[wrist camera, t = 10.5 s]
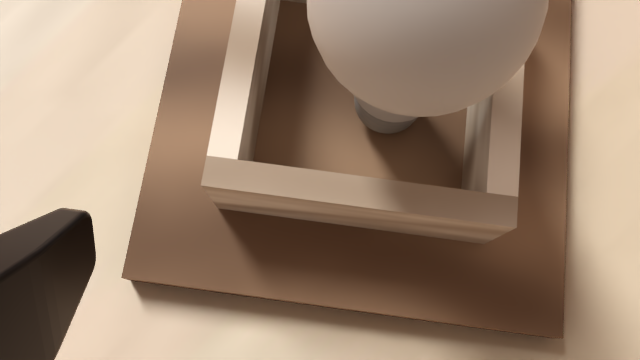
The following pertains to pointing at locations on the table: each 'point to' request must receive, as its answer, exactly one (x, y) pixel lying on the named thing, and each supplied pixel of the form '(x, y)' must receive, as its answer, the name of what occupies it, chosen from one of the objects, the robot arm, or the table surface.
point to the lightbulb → (423, 52)
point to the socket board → (352, 181)
